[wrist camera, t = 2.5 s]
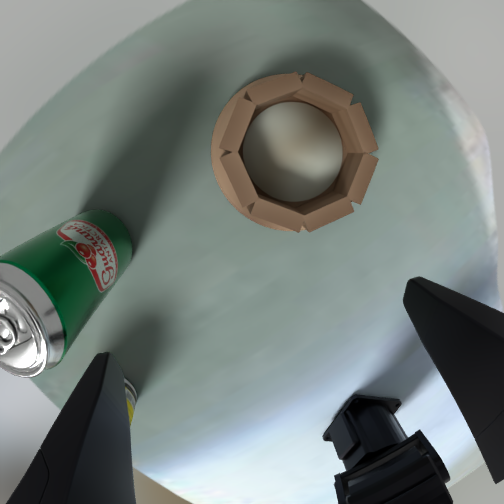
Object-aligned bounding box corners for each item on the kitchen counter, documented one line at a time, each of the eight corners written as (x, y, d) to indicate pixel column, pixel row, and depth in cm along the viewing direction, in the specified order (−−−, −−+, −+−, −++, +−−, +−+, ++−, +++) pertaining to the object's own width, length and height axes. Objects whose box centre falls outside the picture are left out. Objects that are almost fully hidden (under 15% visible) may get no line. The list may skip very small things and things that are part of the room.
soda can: (149, 252, 21) (80, 357, 9) (99, 290, 21) (20, 399, 10) (105, 192, 19) (-9, 242, 8) (58, 236, 20) (-52, 309, 8)
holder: (380, 117, 19) (406, 112, 16) (328, 247, 22) (347, 264, 18) (245, 55, 17) (249, 37, 14) (189, 197, 20) (182, 206, 16)
